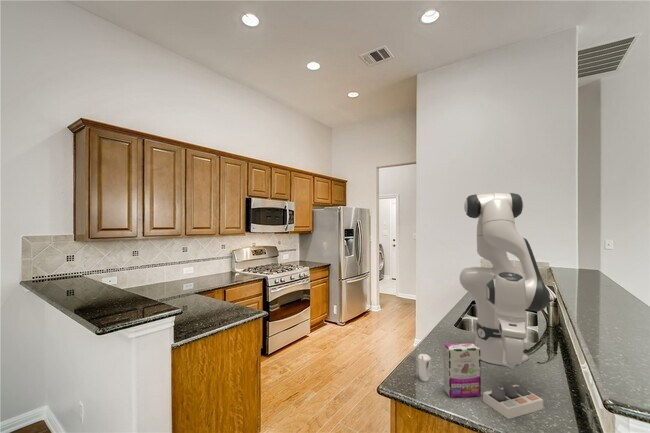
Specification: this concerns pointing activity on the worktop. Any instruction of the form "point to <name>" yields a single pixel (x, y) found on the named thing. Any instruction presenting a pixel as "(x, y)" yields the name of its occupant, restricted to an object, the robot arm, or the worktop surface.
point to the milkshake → (424, 367)
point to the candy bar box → (462, 370)
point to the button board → (514, 404)
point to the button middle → (510, 391)
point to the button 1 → (498, 394)
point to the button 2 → (521, 391)
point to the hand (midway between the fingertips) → (510, 366)
